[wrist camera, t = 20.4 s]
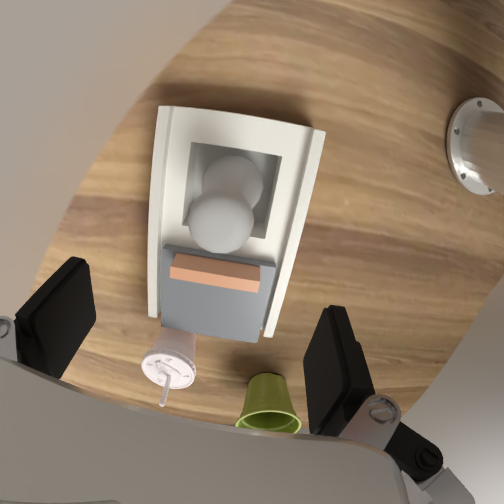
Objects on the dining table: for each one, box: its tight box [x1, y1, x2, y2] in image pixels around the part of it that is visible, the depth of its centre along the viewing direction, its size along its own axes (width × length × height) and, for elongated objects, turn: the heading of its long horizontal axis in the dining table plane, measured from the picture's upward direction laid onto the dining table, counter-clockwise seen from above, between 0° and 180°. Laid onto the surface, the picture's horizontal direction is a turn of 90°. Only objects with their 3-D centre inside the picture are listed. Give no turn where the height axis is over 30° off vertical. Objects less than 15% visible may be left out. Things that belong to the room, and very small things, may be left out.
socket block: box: [148, 106, 326, 338], centre depth 30 cm, size 22×14×6 cm, turn 170°
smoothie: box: [141, 327, 196, 407], centre depth 34 cm, size 6×6×14 cm
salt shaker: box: [188, 155, 263, 254], centre depth 24 cm, size 6×6×13 cm
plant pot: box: [236, 373, 301, 433], centre depth 42 cm, size 9×9×9 cm
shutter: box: [161, 244, 276, 343], centre depth 30 cm, size 10×11×4 cm
